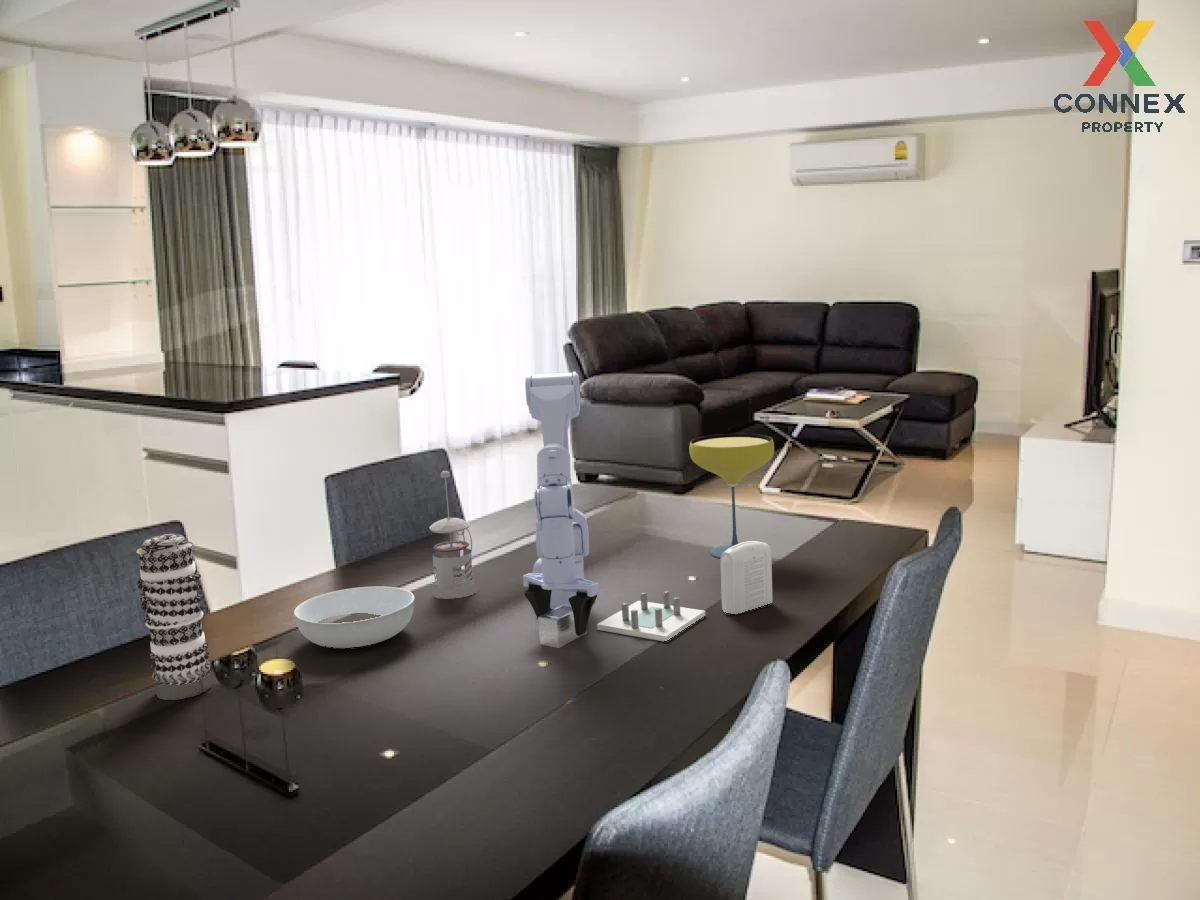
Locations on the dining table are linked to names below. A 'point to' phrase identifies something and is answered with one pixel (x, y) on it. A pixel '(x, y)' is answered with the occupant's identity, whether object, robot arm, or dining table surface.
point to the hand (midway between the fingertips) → (563, 630)
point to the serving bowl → (371, 600)
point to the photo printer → (746, 577)
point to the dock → (651, 619)
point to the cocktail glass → (731, 462)
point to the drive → (557, 626)
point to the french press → (452, 552)
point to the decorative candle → (173, 610)
